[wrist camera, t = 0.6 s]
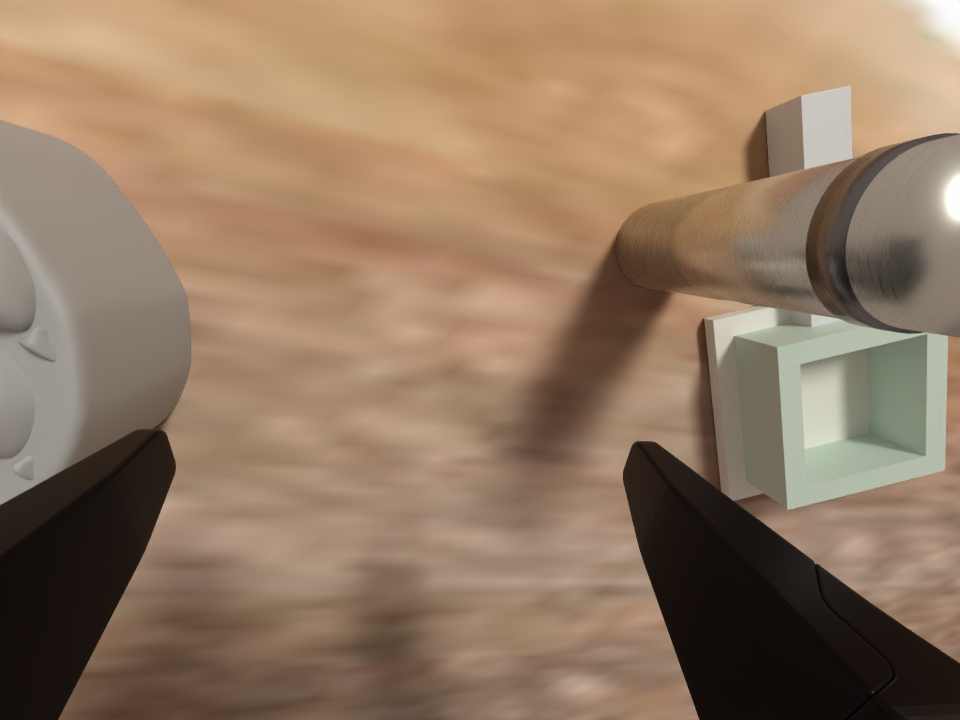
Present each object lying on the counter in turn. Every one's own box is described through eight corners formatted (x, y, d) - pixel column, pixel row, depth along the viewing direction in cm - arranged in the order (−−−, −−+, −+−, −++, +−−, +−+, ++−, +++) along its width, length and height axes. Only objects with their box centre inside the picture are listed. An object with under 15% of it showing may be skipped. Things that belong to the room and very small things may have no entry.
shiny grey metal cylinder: (701, 280, 24) (1072, 317, 10) (620, 298, 23) (884, 361, 10) (693, 192, 23) (1091, 99, 9) (608, 210, 22) (882, 144, 9)
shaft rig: (1015, 420, 27) (1107, 447, 24) (721, 494, 26) (768, 533, 23) (1037, 54, 23) (1155, 15, 19) (684, 127, 22) (736, 101, 18)
